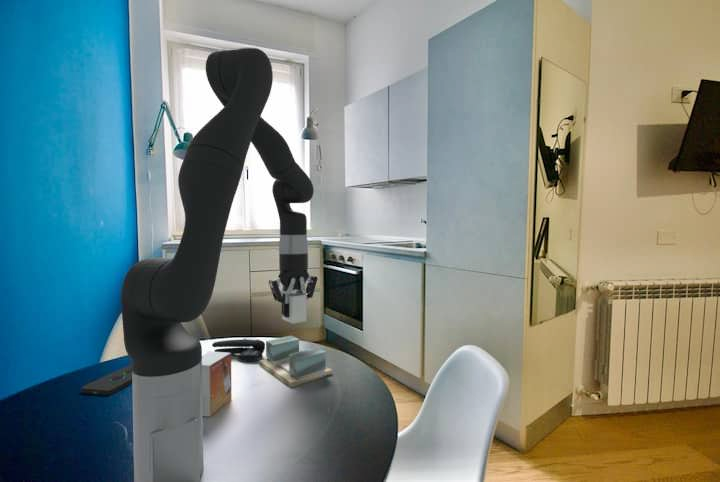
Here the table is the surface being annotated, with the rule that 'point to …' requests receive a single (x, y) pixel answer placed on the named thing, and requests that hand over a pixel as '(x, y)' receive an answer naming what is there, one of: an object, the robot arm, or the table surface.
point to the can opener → (245, 353)
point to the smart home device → (110, 382)
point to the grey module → (296, 308)
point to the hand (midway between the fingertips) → (294, 315)
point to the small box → (215, 381)
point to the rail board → (294, 361)
